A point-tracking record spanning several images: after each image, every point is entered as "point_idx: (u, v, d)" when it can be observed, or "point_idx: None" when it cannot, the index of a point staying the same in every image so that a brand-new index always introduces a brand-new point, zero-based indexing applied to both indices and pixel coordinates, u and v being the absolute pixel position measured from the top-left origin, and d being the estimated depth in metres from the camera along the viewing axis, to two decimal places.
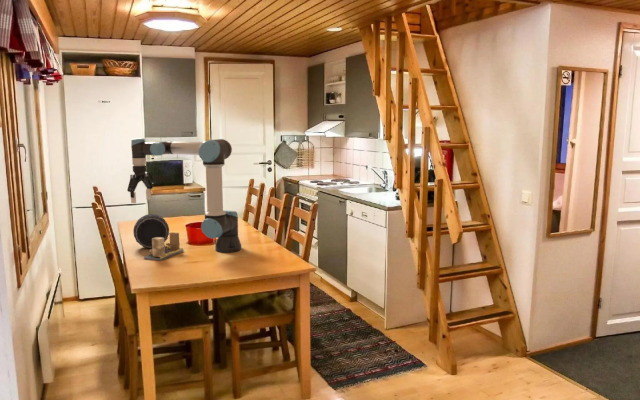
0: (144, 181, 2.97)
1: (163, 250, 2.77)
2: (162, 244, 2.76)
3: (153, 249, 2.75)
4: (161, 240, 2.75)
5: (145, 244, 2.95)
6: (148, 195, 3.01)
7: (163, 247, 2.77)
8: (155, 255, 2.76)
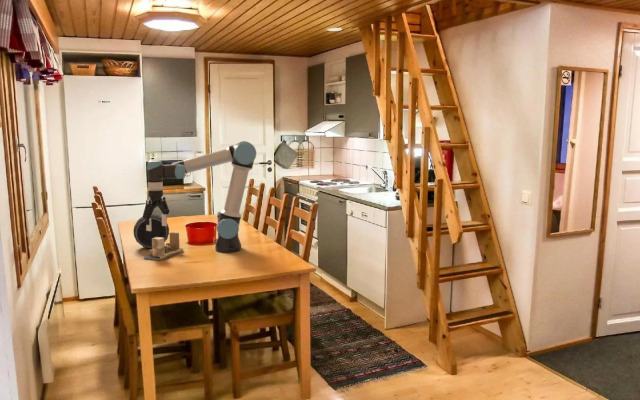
0: (160, 206, 2.76)
1: (163, 250, 2.77)
2: (162, 244, 2.76)
3: (153, 249, 2.75)
4: (161, 240, 2.75)
5: (145, 244, 2.95)
6: (164, 221, 2.80)
7: (163, 247, 2.77)
8: (155, 255, 2.76)
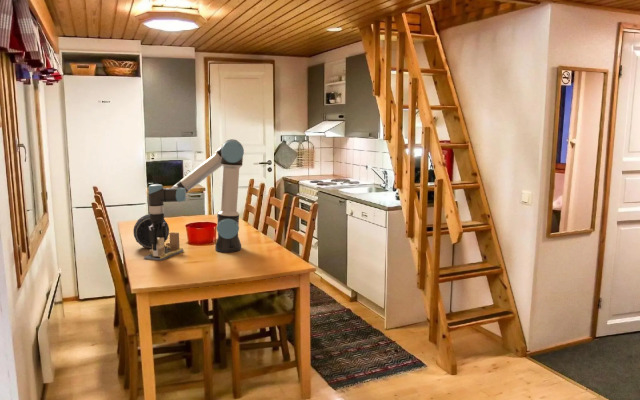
0: (159, 231, 2.77)
1: (163, 250, 2.77)
2: (162, 244, 2.76)
3: None
4: (161, 240, 2.75)
5: (145, 244, 2.95)
6: None
7: (163, 247, 2.77)
8: None
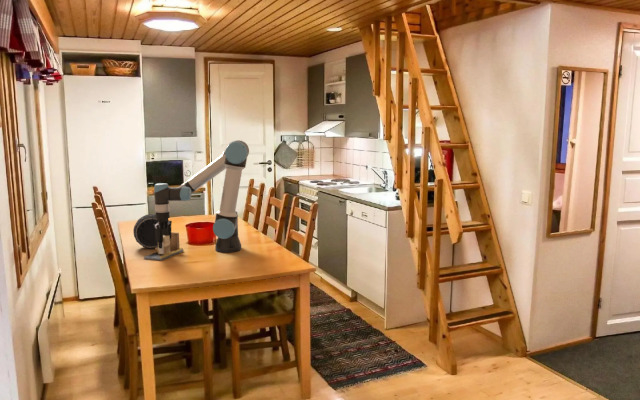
0: (165, 229, 2.81)
1: (169, 248, 2.82)
2: (168, 242, 2.81)
3: None
4: (166, 238, 2.79)
5: (145, 244, 2.95)
6: None
7: (168, 245, 2.81)
8: None
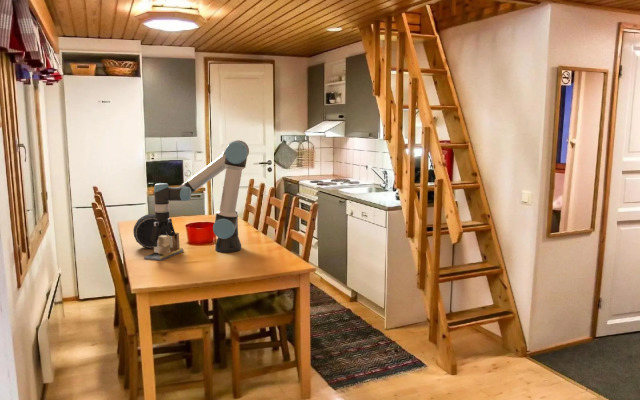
0: (166, 228, 2.82)
1: (169, 248, 2.82)
2: (168, 242, 2.81)
3: (159, 247, 2.80)
4: (166, 238, 2.79)
5: (145, 244, 2.95)
6: (170, 243, 2.86)
7: (168, 245, 2.81)
8: (160, 253, 2.80)
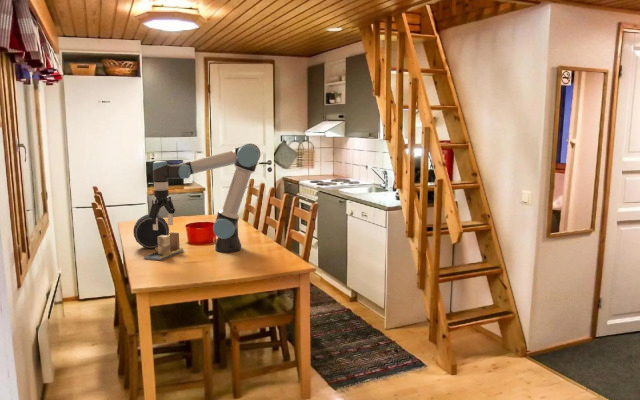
0: (166, 206, 2.81)
1: (169, 248, 2.82)
2: (168, 242, 2.81)
3: (159, 247, 2.80)
4: (166, 238, 2.79)
5: (145, 244, 2.95)
6: (170, 220, 2.85)
7: (168, 245, 2.81)
8: (160, 253, 2.80)
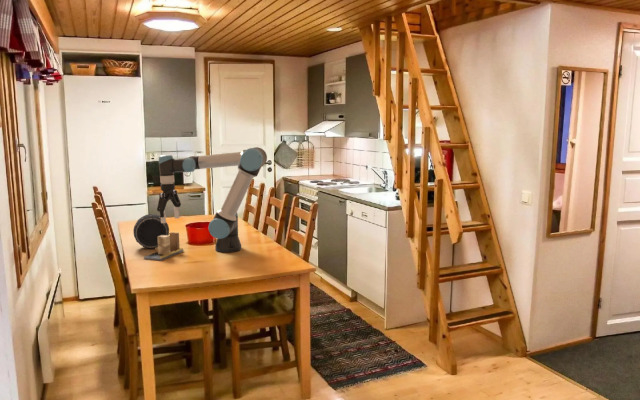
0: (172, 199, 2.85)
1: (169, 248, 2.82)
2: (168, 242, 2.81)
3: (159, 247, 2.80)
4: (166, 238, 2.79)
5: (145, 244, 2.95)
6: (176, 214, 2.89)
7: (168, 245, 2.81)
8: (160, 253, 2.80)
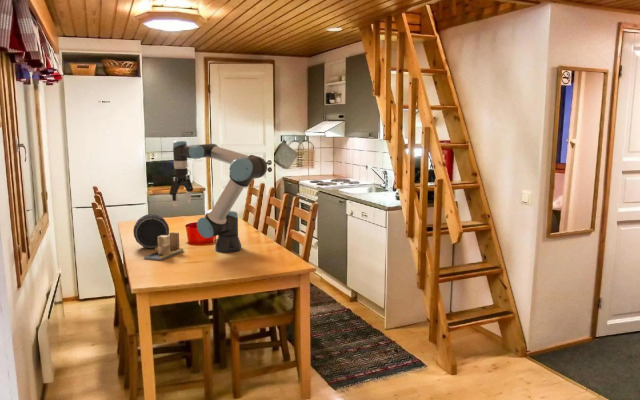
0: (185, 184, 2.95)
1: (169, 248, 2.82)
2: (168, 242, 2.81)
3: (159, 247, 2.80)
4: (166, 238, 2.79)
5: (145, 244, 2.95)
6: (188, 198, 2.99)
7: (168, 245, 2.81)
8: (160, 253, 2.80)
